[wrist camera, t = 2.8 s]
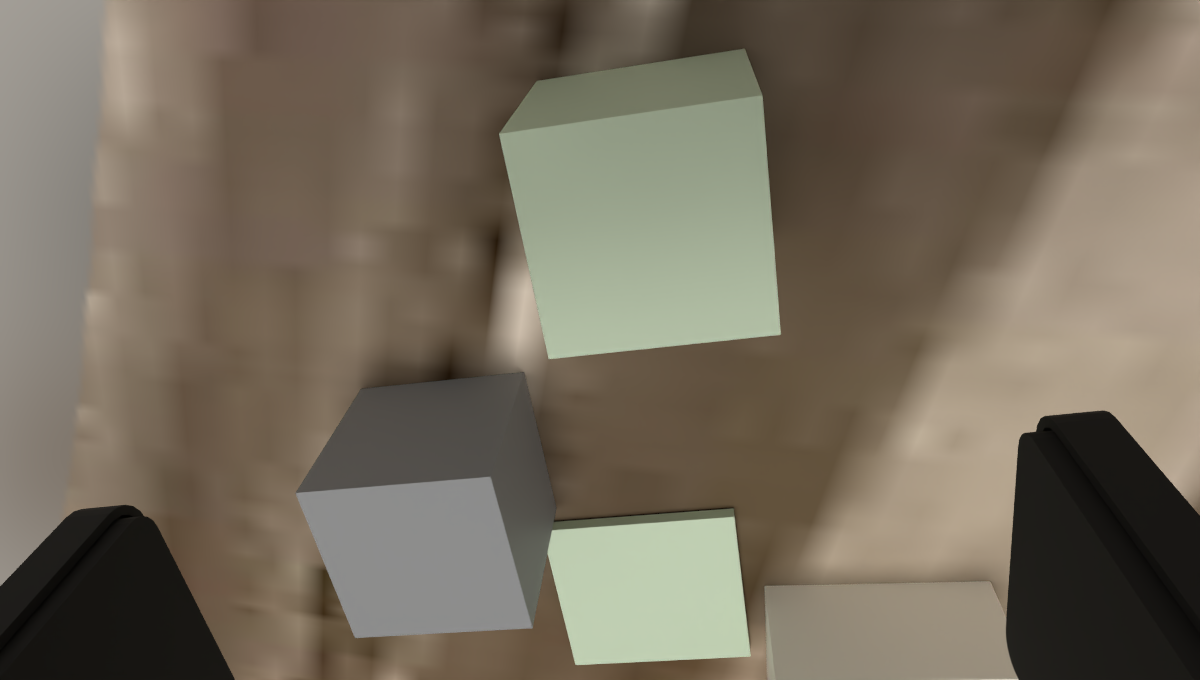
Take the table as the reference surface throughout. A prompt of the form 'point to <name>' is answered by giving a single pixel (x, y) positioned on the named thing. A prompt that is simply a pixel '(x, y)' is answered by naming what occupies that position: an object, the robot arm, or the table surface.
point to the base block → (886, 632)
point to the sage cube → (646, 205)
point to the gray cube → (434, 507)
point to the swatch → (651, 587)
